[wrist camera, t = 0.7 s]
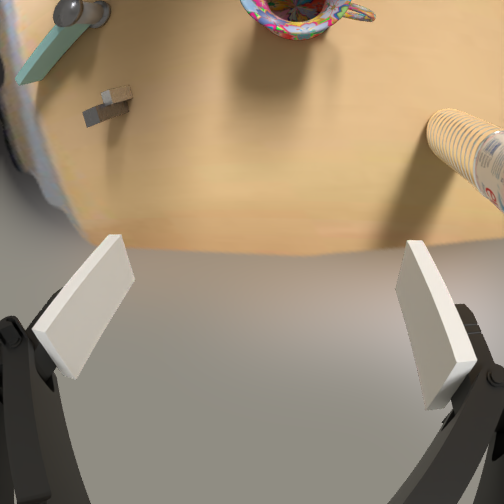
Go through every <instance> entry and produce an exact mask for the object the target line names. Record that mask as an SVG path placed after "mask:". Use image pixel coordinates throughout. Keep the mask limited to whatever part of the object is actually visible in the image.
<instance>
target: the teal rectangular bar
mask: <svg viewBox="0 0 504 504" xmlns="http://www.w3.org/2000/svg"><path fill="white" fill-rule="evenodd" d="M83 5H84V8H83V13H82V15H81V17H80V19H79V20H78V21H77V22H76V23H75V24H74V25H72V26H70V27H59V26H57V25H55V26H54V27H53V28H52V30H51V31H50V32H49V33H48V34H47V36H46V37H45V38H44V39H43V41H42V42H41V43H40V44H39V46H38V47H37V48H36V50H35V51H34V52H33V53H32V55H31V56H30V58H29V59H28V60H27V62H26V63H25V64H24V66H23V67H22V69H21V70H20V72H19V73H18V74H17V76H16V77H15V80H16V82H17V83H18V85H19V86H20V85H24V84H28V83H32V82H36V81H41V80H43V78H44V77H45V76H46V74H47V73H48V72H49V71H50V69H51V68H52V67H53V66H54V65H55V63H56V62H57V61H58V60H59V59H60V58H61V56H62V55H63V54H64V53H65V52H66V51H67V50H68V48H69V47H70V46H71V45H72V44H73V43H74V42H75V41H76V40H77V39H78V38H79V36H80V35H81V34H82V33H83V32H84V31H85V30H86V29H87V28H88V27H89V26H90V25H91V24H96V23H98V22H99V21H100V20H101V19H102V17H103V14H104V9H103V6H102V5H100V4H96V3H89V2H83Z"/></svg>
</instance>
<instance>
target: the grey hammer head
mask: <svg viewBox="0 0 504 504" xmlns="http://www.w3.org/2000/svg"><path fill="white" fill-rule="evenodd" d="M94 3H96V4H100V5H102V6H103V9H104V14H103V17H102V19H101V20H100V21H99V22H98V23H96V24H91V25H90V26H89V27H90V28H99V27H101V26H103V25H104V24H105V23H106V22H107V21H108V19H109V17H110V14H111V8H110V6H109V4H108V3H107V2H104V1H96V2H94ZM83 8H84V5H83V1H82V0H61V1H60V2H59V3H58V4H57V6H56V7H55V10H54V14H53V20H54V23H55V24H56V25H57V26H59V27H70V26H72V25H74V24H75V23H76V22H77V21H78V20H79V19H80V17H81V15H82V13H83Z"/></svg>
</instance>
